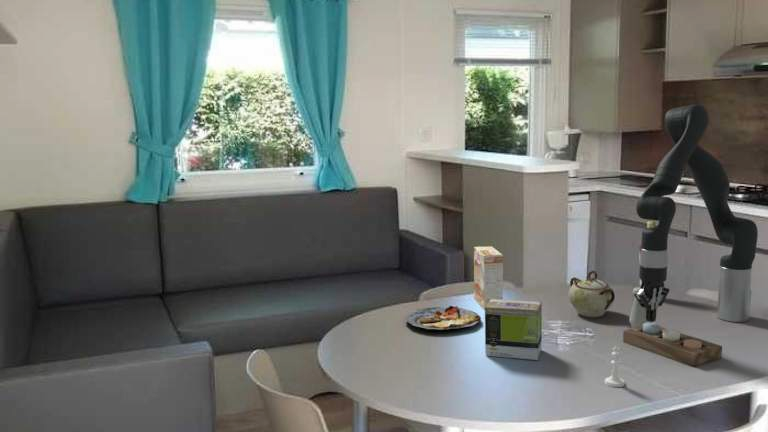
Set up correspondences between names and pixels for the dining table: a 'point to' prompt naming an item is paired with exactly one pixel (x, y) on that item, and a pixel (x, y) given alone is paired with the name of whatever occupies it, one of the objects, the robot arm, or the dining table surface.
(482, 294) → the coffeecake box
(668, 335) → the cream button
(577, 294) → the sugar bowl
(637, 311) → the salt shaker
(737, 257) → the robot arm
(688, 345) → the terracotta button
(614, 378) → the chess piece
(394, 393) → the dining table surface
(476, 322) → the food plate
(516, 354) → the tea box
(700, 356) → the wooden slotted tray
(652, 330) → the slate button
